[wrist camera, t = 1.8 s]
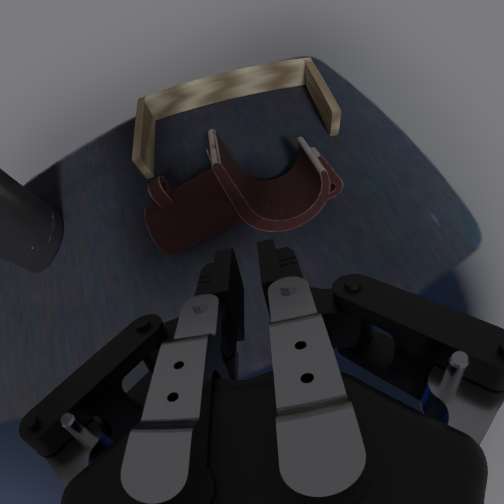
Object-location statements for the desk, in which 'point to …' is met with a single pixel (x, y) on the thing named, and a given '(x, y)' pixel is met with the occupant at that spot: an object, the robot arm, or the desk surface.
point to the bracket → (237, 198)
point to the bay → (225, 89)
